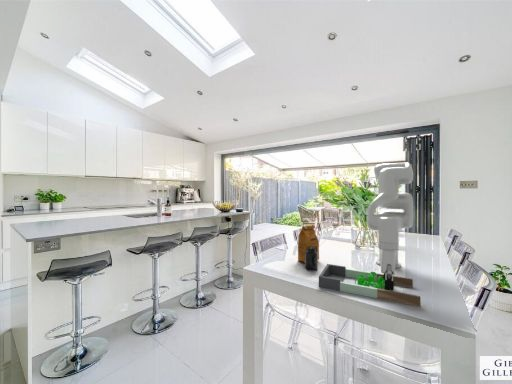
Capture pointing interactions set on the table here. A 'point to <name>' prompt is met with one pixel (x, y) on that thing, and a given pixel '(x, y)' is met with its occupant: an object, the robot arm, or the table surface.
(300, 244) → the coffee package
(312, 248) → the supplement bottle
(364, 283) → the green bumpy clump
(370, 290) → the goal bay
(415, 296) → the walnut channel
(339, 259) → the table surface
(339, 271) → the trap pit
